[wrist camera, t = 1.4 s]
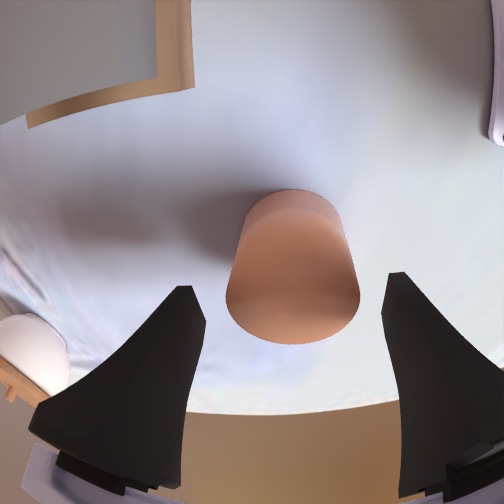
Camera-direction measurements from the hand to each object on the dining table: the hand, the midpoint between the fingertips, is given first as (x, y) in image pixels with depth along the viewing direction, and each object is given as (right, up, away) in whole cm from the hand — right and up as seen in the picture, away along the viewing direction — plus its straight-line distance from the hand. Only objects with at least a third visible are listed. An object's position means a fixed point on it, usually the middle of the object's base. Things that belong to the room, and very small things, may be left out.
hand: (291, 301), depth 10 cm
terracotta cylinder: (+1, +3, +3) cm, 4 cm away
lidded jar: (-24, -7, +14) cm, 28 cm away
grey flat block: (-8, +11, -4) cm, 14 cm away
